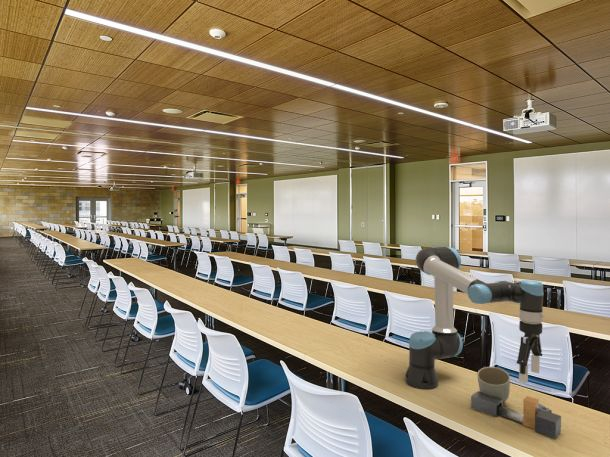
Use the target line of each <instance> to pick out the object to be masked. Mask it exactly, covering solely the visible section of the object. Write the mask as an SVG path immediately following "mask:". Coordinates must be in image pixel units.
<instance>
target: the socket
mask: <svg viewBox="0 0 610 457" xmlns="http://www.w3.org/2000/svg"><path fill="white" fill-rule="evenodd" d="M534 432H535V433H538V434H539V435H542V436H546V437H548V438H551V439H553V440H556V439H557V438H558V437H559V435H560V434H561V432H562V415H559V414H556V413H553V412H552V413H550V412H547V411H544V410H540V411H539V412H538V414H537V415H536V416H535V429H534Z"/></svg>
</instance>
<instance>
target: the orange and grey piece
mask: <svg viewBox="0 0 610 457" xmlns="http://www.w3.org/2000/svg"><path fill="white" fill-rule="evenodd" d="M523 400H524V401H523ZM523 400H522V401H523V402H522V403H523V405H522V406H523V407H522V408H523V409H522V412H519V411H516V410H514V409H510V408H507V407H504V406H503V407H502V406H499V405H498V407H497V416H502V417H505V418H506V419H510V420H512V421H516V422H518V423H521V424H522V426H524V427H527V428H530V429H531V430H535V416H536V415H537V414H538V409H539V404H540V402H539V401H540V399H537V398H534V397H531V396H528V395H527V396H525V397H524V398H523Z"/></svg>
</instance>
